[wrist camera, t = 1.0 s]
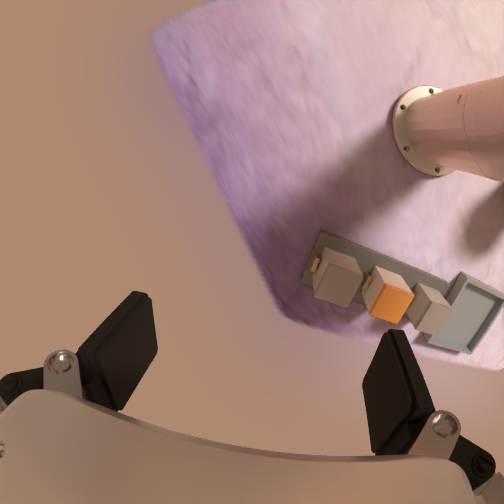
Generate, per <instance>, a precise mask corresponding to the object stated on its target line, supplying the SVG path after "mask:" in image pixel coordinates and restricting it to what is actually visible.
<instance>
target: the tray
mask: <svg viewBox="0 0 504 504" xmlns="http://www.w3.org/2000/svg"><path fill="white" fill-rule="evenodd" d="M445 300H446V301H447V302H448V304H449V305H450V306H451V307H452V309H453V310H454V312H453V313H452V315H451V317H450V318H449V320H448V321H447V323H446V324H445V326H444V327H443V329H442V330H441V332H440V333H439V335H438V336H435V335H432V334H428V333H425V332H424V334H423V336H424V338H425V340H426V342H427V343H429V344H433V345H436V346H440V347H444V348H447V349H451V350H455V351H459V352H463V353H466V354H470V355H471V354H472V353H473V351H474V350H475V348H476V347H477V346H478V344H479V343H480V341H481V340H482V339H483V337H484V336H485V334H486V333H487V331H488V330H489V328H490V327H491V325H492V324H493V322H494V321H495V319H496V317H497V316H498V314H499V312H500V311H501V309H502V307H503V306H504V294H503V293H502V292H501V291H499V290H497V289H495V288H493V287H491V286H489V285H487V284H485V283H483V282H481V281H480V280H478V279H476V278H474V277H472V276H470V275H468V274H466V273H464V272H462V271H461V272H460V274H459V276H458V278H457V280H456V282H455V283H454V285H453V287H452V289H451V291H450V292H449V294H448V296H447V298H446V299H445Z"/></svg>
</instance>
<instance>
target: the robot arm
mask: <svg viewBox="0 0 504 504" xmlns="http://www.w3.org/2000/svg"><path fill="white" fill-rule="evenodd" d="M428 90H429V91H430V93H429V91H428ZM400 106H401V107H402V110H401V109H400ZM392 128H393V134H394V138H395V141H396V144H397V146H398V148H399V150H400V152H401V154H402V155H403V156H404V158H405V159H406V160H407V161H408V162H409V163H410V164H411V165H412V166H413V167H414V168H416V169H417V170H419V171H421V172H424V173H426V174H430V175H435V176H441V175H446V174H449V173H451V172H453V171H455V170H460V171H464V172H468V173H471V174H475V175H479V176H482V177H486V178H489V179H492V180H495V181H499V182H503V183H504V76H502V77H498V78H494V79H489V80H485V81H481V82H476V83H472V84H468V85H464V86H460V87H456V88H452V89H449V90H445V91H443V90H442V89H440V88H437V87H434V86H426V85H424V86H417V87H415V88H412V89H410V90H408V91H407V92H405V93H404V94H403V95H402V96H401V97H400V99H399V100H398V102H397V104H396V106H395V109H394V113H393V119H392ZM404 147H406V150H404ZM435 168H436V170H435ZM157 350H158V346H157V339H156V332H155V325H154V317H153V308H152V300H151V298H149V297H148V295H147V294H146V293H143V292H138V291H133V292H132V293H131V294H130V295H129V296H128V297H127V298H126V299H125V300H124V301H123V302H122V303H121V304H120V305H119V306H118V307H117V308H116V309H115V310H114V311H113V312H112V313H111V314H110V315H109V316H108V317H107V318H106V319H105V320H104V321H103V323H102V324H101V325H100V326H99V327H98V328H97V329H96V330H95V331H94V332H93V333H92V334H91V335H90V336H89V338H88V339H87V340H86V341H85V342H84V343H83V344H82V345H81V346H80V347H79V349H78V351H77V353H76V354H75V353H73V352H71V351H69V350H58V351H55V352H53V353H51V354H50V355H49V356H48V357H47V358H46V360H45V361H44V367H41V368H37V369H31V370H26V371H20V372H15V373H10V374H7V375H6V376H4V377H3V378H2V379H1V380H0V504H504V477H503V476H502V475H501V473H500V472H498V473H497V474H496V473H495V468H496V465H495V461H494V458H493V457H492V455H491V454H489V453H488V452H487V451H485V450H483V449H482V448H480V447H479V446H477V445H475V444H474V443H472V442H470V441H469V440H467V439H465V438H464V437H462V436H461V435H460V431H461V426H460V423H459V420H458V419H457V417H456V416H455V415H453V414H452V413H451V412H448V411H444V410H439V411H435V408H434V405H433V402H432V399H431V396H430V394H429V391H428V388H427V386H426V383H425V380H424V377H423V375H422V373H421V370H420V367H419V365H418V363H417V361H416V358H415V356H414V353H413V351H412V349H411V346H410V344H409V342H408V339H407V337H406V335H405V332H404V331H403V330H396V329H389V330H388V332H385V333H384V334H383V336H382V338H381V341H380V343H379V346H378V348H377V351H376V353H375V355H374V357H373V359H372V362H371V364H370V366H369V368H368V370H367V373H366V375H365V377H364V379H363V383H362V388H363V394H364V399H365V406H366V413H367V420H368V426H369V435H370V443H371V450H372V452H373V453H375V455H376V456H323V455H306V454H293V453H283V452H274V451H266V450H259V449H252V448H246V447H241V446H235V445H230V444H225V443H220V442H215V441H211V440H206V439H202V438H198V437H194V436H190V435H186V434H182V433H179V432H175V431H172V430H168V429H165V428H162V427H159V426H156V425H152V424H149V423H146V422H144V421H141V420H138V419H135V418H132V417H129V416H126V415H124V414H121V413H118V410H122V409H123V408H124V406H125V405H126V403H127V401H128V400H129V398H130V397H131V395H132V393H133V391H134V390H135V388H136V386H137V385H138V383H139V382H140V380H141V378H142V377H143V375H144V374H145V372H146V370H147V369H148V367H149V365H150V364H151V362H152V361H153V359H154V357H155V356H156V354H157Z"/></svg>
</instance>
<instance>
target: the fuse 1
mask: <svg viewBox="0 0 504 504" xmlns="http://www.w3.org/2000/svg"><path fill="white" fill-rule="evenodd" d="M312 278H313V289H314V297H315V298H318V299H321V300H324V301H327V302H330V303H333V304H336V305H339V306H342V307H345V308H348V306H349V304H350V302H351V301H352V299H353V297H354V295H355V293H356V291H357V289H358V287H359V286H360V284H361V282H362V280H363V278H364V277H363V275H362V273H361V270H360V268H359V266H358V264H357V262H356V259H355V258H354V257H351V256H348V255H345V254H343V253H340V252H337V251H335V250H332V249H329V248H327V247H325V248H324V250H323V252H322V255H321V257H320V260H319V263H318V265H317V267H316V270H315V272H314V273H313V275H312Z"/></svg>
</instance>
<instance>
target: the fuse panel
mask: <svg viewBox="0 0 504 504" xmlns="http://www.w3.org/2000/svg"><path fill="white" fill-rule="evenodd" d="M325 247H327V248H329V249H332V250H335V251H337V252H340V253H343V254H345V255H348V256H351V257H354V258H355V259H356V262H357V264H358V266H359V268H360V270H361V273H362V275H363V277H364V278H363V280H362V282H361V284H360V286H359V287H358V289H357V291H356V293H355V295H354V297H353V299H352V301H355V302H358V303H361V304H364V305H366V303H365V301H364V298H363V295H362V291H363V289H364V290H366V289H367V287H368V285H369V283H370V281H371V279H372V277H371V274H372V272H373V270H374V268H375V266H377V267H380V268H382V269H385V270H388V271H390V272H393V273H395V274H398V275H400V276H401V277H402V278H403V280H404V281H405V282H406V284H407V285H408V287H409V288H410V290H411V291H412V293H413V295H414V297H415V295H416V294H415V292H414V291H413V290H414V289H415V287H416V285H417V283H421V284H423V285H426V286H428V287H431V288H433V289H435V290H438V291H439V292H440V293H441V294H442V295H443V293H444V291H445V289H446V288H447V286H448V282H447V281H445V280H443V279H441V278H438V277H436V276H434V275H431V274H429V273H427V272H424V271H422V270H420V269H417V268H415V267H413V266H410V265H408V264H405V263H403V262H401V261H398V260H396V259H393V258H391V257H388V256H386V255H383V254H381V253H378V252H376V251H373V250H371V249H368V248H366V247H363V246H361V245H358V244H355V243H353V242H350V241H348V240H345V239H342V238H340V237H337V236H335V235H332V234H329V233H327V232H324V231H320V234H319V236H318V238H317V241H316V243H315V246H314V248H313V250H312V253H311V255H310V258H309V260H308V262H307V265H306V267H305V269H304V272H303V274H302V276H301V278H300V283H301V284H304V285H307V286H310V287H313V278H312V275H313V273H314V272H315V270H316V267H317V265H318V263H319V260H320V257H321V255H322V252H323V250H324V248H325ZM412 300H413V299H412ZM411 302H412V301H411ZM410 304H411V303H410ZM410 304H409V305H410ZM402 317H403V318H406V319H410V318H409V316H408V314H407V312H406V311H405V313H404V314H403V316H402Z"/></svg>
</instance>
